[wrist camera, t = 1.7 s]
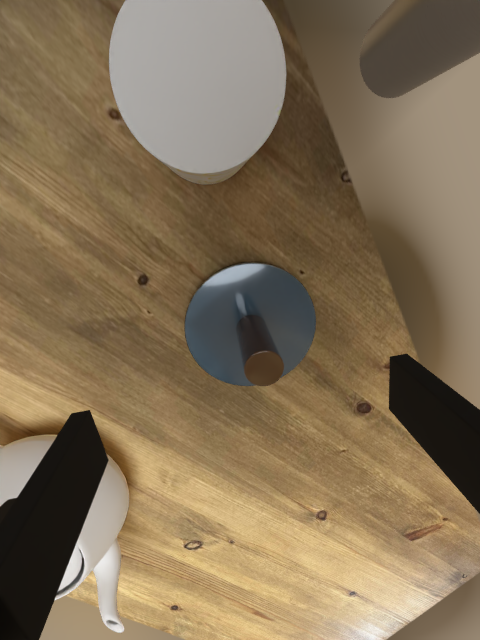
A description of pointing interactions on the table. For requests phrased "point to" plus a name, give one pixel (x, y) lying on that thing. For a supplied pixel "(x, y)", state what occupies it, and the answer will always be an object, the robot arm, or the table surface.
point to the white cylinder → (198, 81)
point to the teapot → (98, 530)
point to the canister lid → (250, 324)
